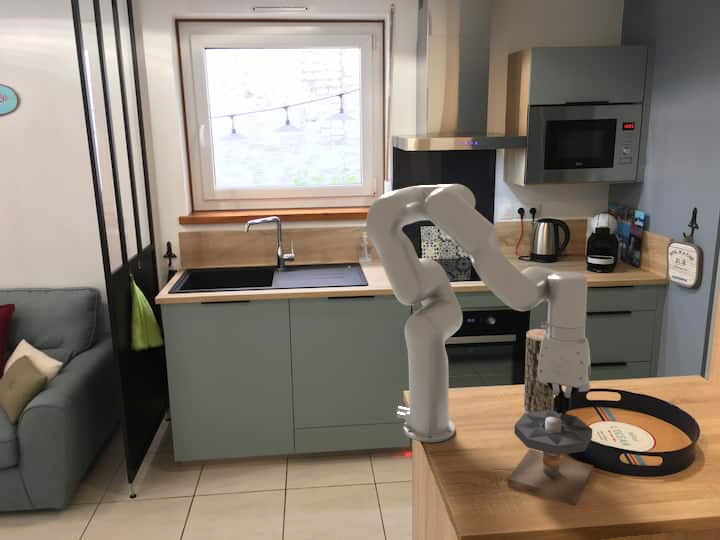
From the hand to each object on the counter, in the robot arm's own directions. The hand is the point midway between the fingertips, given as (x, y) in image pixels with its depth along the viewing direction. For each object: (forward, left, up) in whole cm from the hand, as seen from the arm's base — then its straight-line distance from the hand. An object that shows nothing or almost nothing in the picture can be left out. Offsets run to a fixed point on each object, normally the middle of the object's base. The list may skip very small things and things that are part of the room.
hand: (562, 411), depth 138 cm
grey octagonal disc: (0, -7, -3) cm, 7 cm away
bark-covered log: (-9, +12, -13) cm, 20 cm away
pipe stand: (0, -7, -13) cm, 14 cm away
